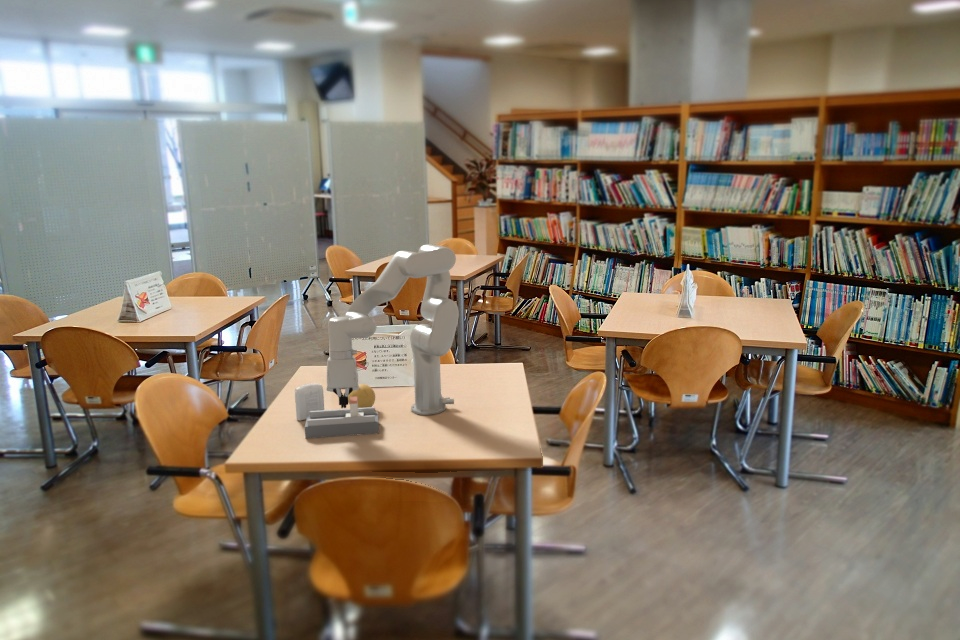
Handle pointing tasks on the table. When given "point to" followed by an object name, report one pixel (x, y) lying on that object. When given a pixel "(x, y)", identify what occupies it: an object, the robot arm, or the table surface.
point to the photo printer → (308, 399)
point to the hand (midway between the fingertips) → (343, 406)
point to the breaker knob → (354, 408)
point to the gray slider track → (341, 423)
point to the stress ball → (363, 396)
